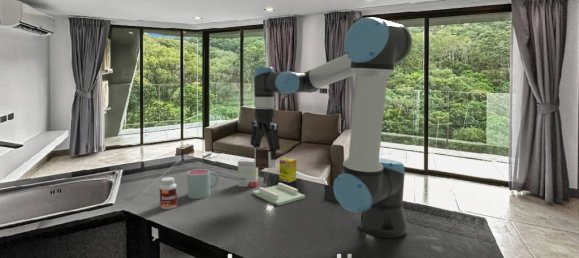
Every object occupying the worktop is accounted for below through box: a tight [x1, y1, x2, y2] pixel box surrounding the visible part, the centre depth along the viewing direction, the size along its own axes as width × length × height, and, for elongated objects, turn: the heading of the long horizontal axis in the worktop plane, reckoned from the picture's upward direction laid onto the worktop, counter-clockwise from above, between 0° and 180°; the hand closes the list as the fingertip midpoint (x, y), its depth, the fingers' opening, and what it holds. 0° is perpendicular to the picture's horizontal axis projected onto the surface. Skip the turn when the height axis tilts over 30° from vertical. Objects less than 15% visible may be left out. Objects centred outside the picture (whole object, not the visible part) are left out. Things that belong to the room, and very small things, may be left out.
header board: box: [252, 182, 306, 207], centre depth 139 cm, size 18×14×3 cm
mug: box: [186, 168, 219, 200], centre depth 140 cm, size 14×9×10 cm
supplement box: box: [279, 157, 297, 185], centre depth 158 cm, size 6×6×11 cm
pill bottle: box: [159, 176, 178, 210], centre depth 126 cm, size 6×6×11 cm
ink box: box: [237, 159, 259, 188], centre depth 152 cm, size 9×5×12 cm, turn 81°
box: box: [256, 146, 273, 169], centre depth 129 cm, size 6×6×7 cm
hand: (264, 165), depth 129 cm, fingers closed on box, 8 cm apart
